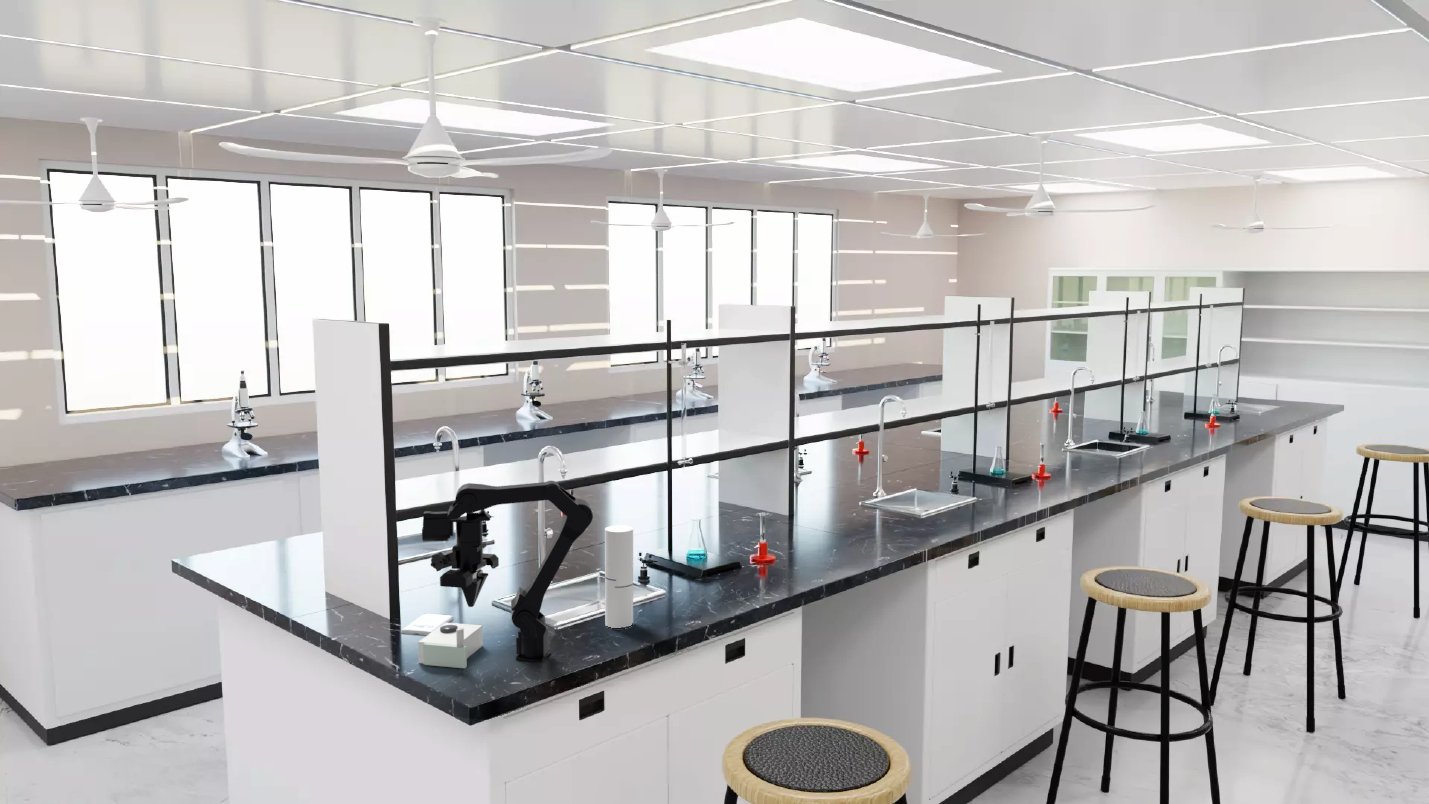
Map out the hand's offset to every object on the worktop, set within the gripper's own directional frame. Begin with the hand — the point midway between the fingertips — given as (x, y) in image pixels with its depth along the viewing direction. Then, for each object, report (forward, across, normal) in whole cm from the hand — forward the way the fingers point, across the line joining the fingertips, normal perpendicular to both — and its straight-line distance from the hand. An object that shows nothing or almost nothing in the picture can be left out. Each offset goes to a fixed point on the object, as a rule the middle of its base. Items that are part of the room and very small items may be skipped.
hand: (471, 606), depth 230 cm
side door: (+13, +5, -4) cm, 14 cm away
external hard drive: (+14, -20, -21) cm, 32 cm away
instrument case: (+13, -3, -6) cm, 15 cm away
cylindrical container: (+13, -31, +26) cm, 43 cm away
